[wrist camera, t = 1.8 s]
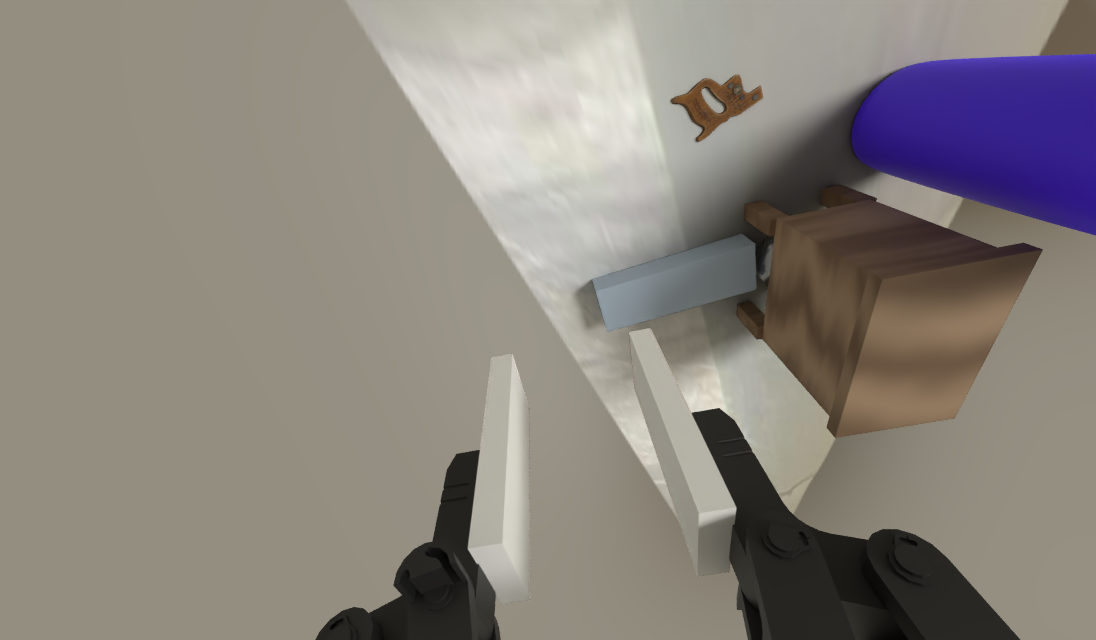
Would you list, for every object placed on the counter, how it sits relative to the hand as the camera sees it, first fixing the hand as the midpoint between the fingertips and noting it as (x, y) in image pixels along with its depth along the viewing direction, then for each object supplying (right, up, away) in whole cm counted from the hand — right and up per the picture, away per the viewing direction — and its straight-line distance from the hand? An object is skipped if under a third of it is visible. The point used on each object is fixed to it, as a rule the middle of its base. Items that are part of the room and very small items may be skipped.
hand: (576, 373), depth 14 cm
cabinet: (+23, +8, +25) cm, 35 cm away
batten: (+11, +6, +26) cm, 29 cm away
